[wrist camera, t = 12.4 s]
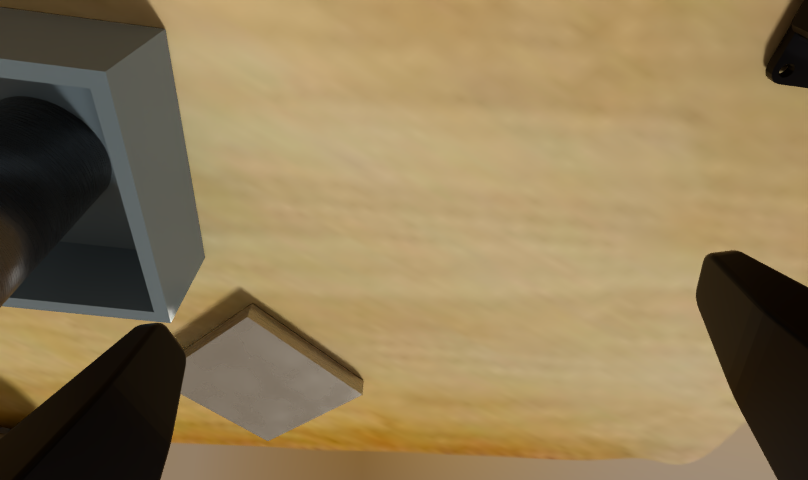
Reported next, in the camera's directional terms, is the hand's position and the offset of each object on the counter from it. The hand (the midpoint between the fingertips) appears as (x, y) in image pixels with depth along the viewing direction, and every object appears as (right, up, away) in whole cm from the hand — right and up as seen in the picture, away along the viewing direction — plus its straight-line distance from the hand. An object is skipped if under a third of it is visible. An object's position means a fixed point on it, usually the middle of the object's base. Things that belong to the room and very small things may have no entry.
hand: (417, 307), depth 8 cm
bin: (-15, +5, +13) cm, 21 cm away
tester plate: (-9, -7, +23) cm, 26 cm away
